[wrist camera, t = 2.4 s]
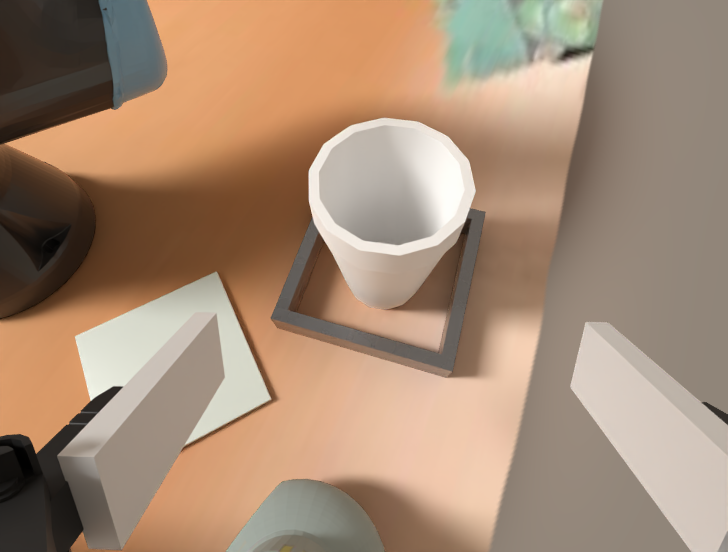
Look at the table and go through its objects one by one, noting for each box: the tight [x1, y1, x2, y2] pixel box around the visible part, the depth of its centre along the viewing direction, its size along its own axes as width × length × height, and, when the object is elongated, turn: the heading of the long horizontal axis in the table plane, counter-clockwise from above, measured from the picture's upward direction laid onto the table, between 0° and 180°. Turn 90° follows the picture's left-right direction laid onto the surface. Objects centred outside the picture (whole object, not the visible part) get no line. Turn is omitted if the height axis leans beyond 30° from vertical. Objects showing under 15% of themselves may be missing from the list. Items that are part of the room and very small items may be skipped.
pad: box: [75, 271, 272, 447], centre depth 31 cm, size 12×12×1 cm
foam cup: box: [309, 118, 476, 310], centre depth 28 cm, size 10×9×13 cm
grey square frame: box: [271, 208, 485, 378], centre depth 33 cm, size 14×14×2 cm
